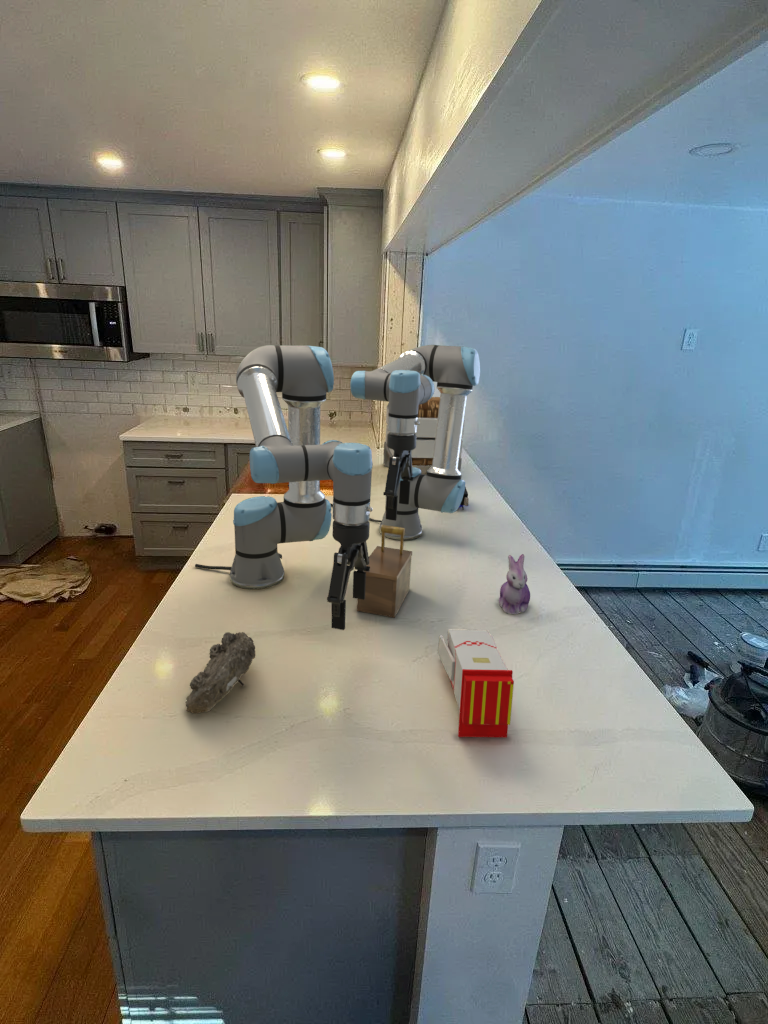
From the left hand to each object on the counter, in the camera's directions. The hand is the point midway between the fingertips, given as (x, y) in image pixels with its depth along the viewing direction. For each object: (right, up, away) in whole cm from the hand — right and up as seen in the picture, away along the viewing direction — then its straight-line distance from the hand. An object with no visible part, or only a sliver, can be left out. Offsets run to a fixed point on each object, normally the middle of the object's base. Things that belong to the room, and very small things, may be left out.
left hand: (349, 612), depth 122 cm
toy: (+25, -16, -4) cm, 30 cm away
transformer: (+25, +41, +153) cm, 160 cm away
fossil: (-25, -14, -5) cm, 29 cm away
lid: (+8, +8, +29) cm, 31 cm away
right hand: (+11, +22, +30) cm, 38 cm away
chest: (+8, -2, +32) cm, 33 cm away
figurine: (+43, -4, +31) cm, 53 cm away
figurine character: (+38, +24, +109) cm, 118 cm away
